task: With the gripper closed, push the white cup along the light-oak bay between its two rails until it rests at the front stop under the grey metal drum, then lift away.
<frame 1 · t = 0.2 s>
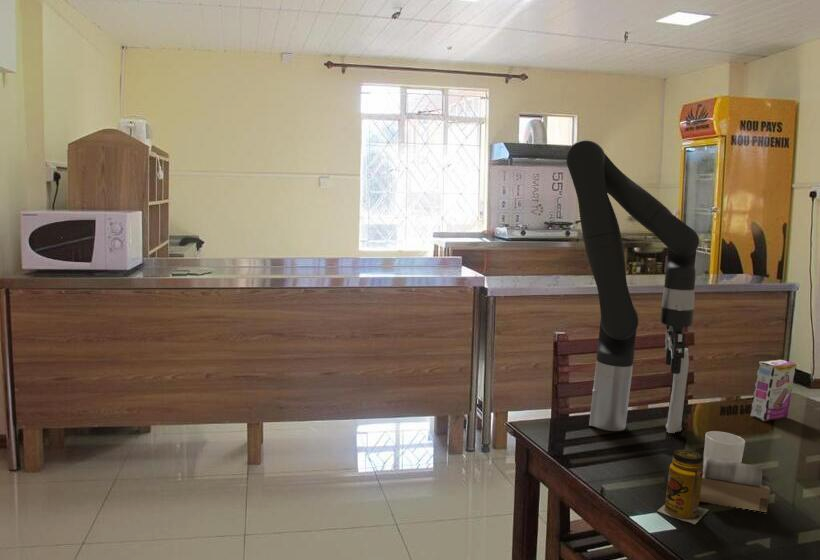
hand: (672, 369, 174), 18 cm above the table, tool pointing down, fingers open, 8 cm apart
white cup: (718, 482, 150), on the table
tall pale column: (673, 429, 183), on the table
candy bar box: (769, 417, 199), on the table
bay: (722, 489, 146), on the table
condiment: (682, 512, 135), on the table
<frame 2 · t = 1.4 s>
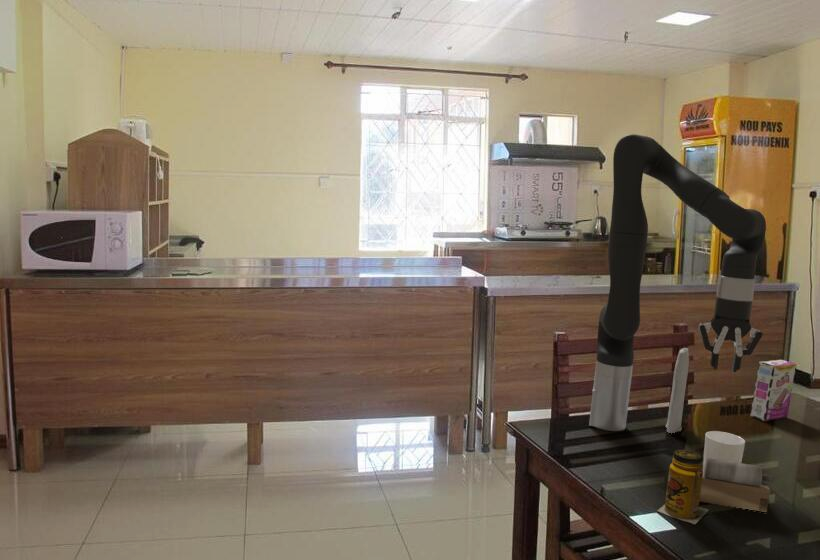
hand: (724, 369, 159), 22 cm above the table, tool pointing down, fingers open, 3 cm apart
nothing on the table moved.
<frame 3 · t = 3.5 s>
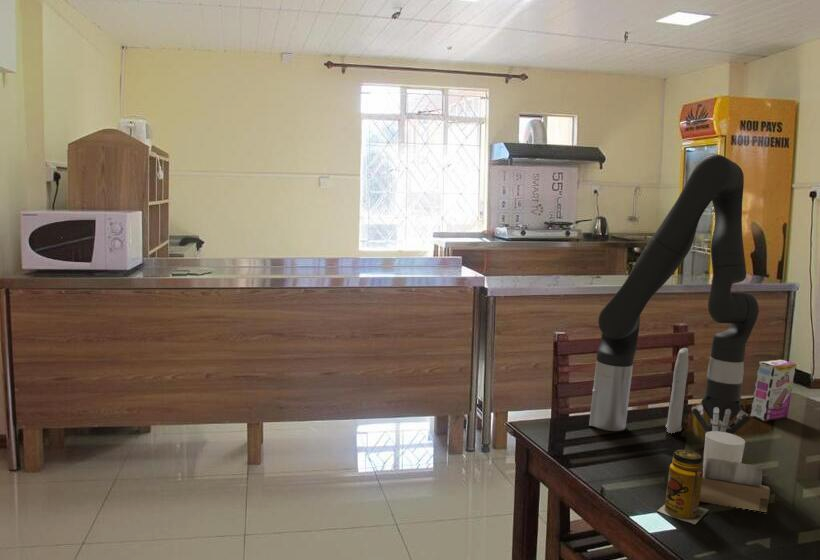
hand: (715, 449, 162), 3 cm above the table, tool pointing down, fingers closed
nothing on the table moved.
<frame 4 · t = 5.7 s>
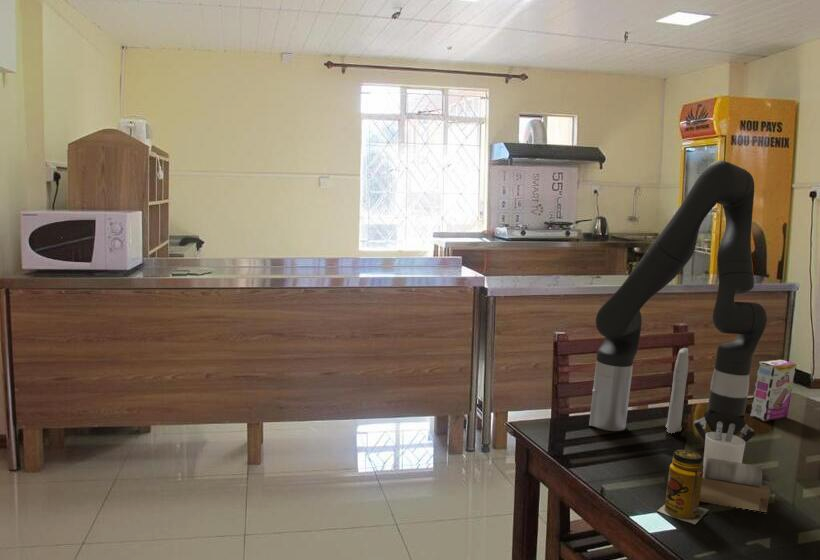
hand: (718, 464, 154), 2 cm above the table, tool pointing down, fingers closed
white cup: (719, 482, 150), on the table, touching gripper
everything else where it was.
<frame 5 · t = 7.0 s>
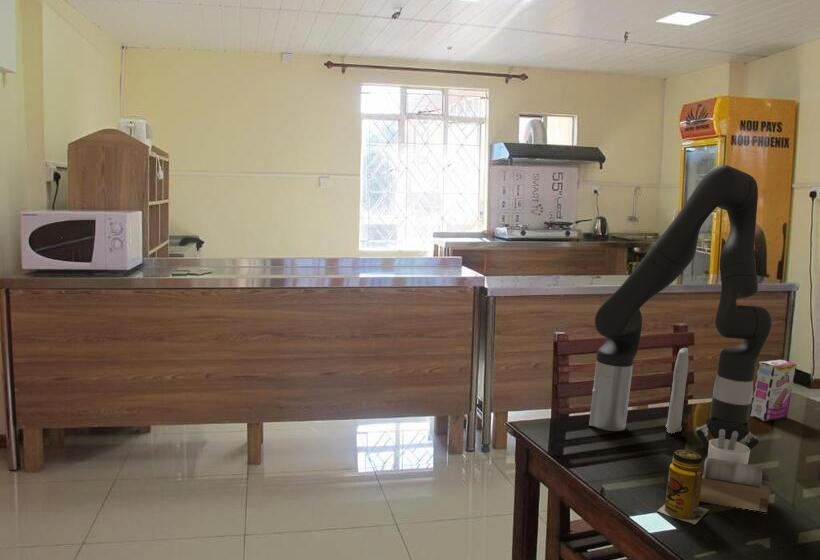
hand: (720, 473, 150), 2 cm above the table, tool pointing down, fingers closed
white cup: (722, 491, 145), on the table, touching gripper
everything else where it was.
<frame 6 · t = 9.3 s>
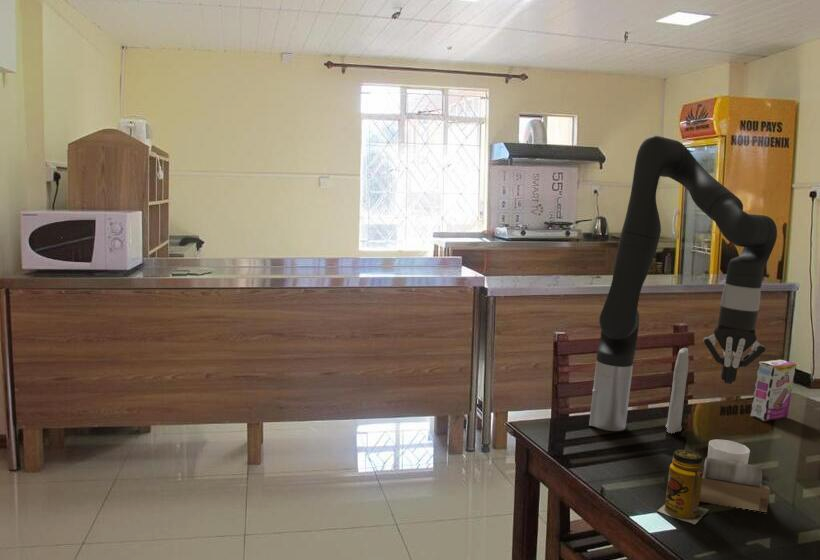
hand: (727, 382, 152), 21 cm above the table, tool pointing down, fingers closed
white cup: (722, 492, 145), on the table
everything else where it was.
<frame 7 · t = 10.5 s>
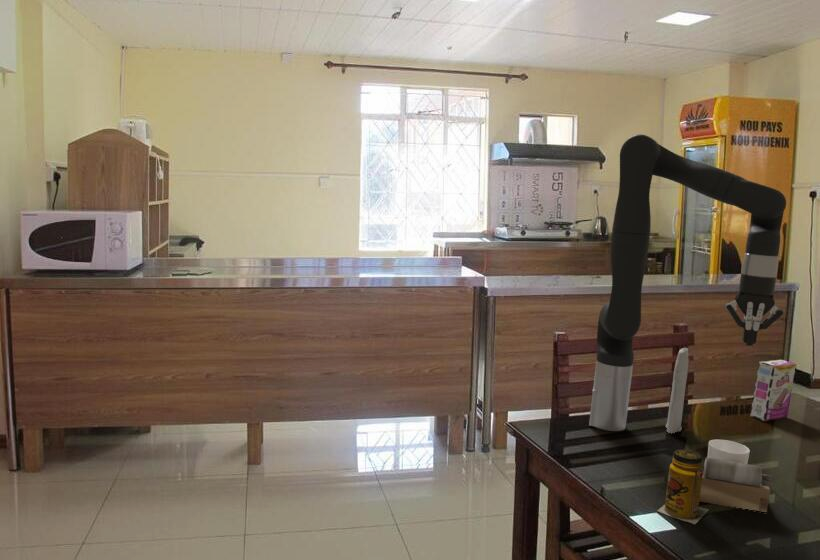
hand: (748, 344, 165), 27 cm above the table, tool pointing down, fingers closed
nothing on the table moved.
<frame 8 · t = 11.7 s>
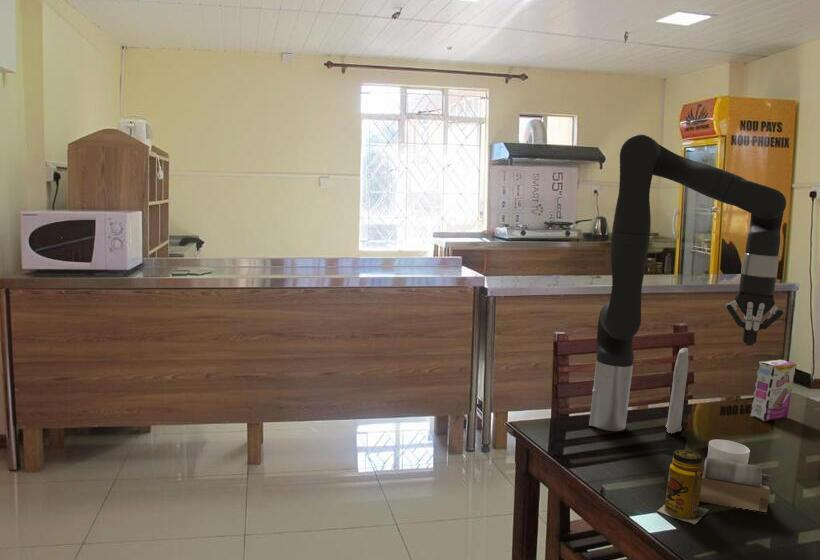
hand: (748, 344, 165), 27 cm above the table, tool pointing down, fingers closed
nothing on the table moved.
at the end: white cup inside the target area (2.2 cm from its centre), on the table; white cup tilted 0°; white cup moved 5.5 cm from its start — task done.
